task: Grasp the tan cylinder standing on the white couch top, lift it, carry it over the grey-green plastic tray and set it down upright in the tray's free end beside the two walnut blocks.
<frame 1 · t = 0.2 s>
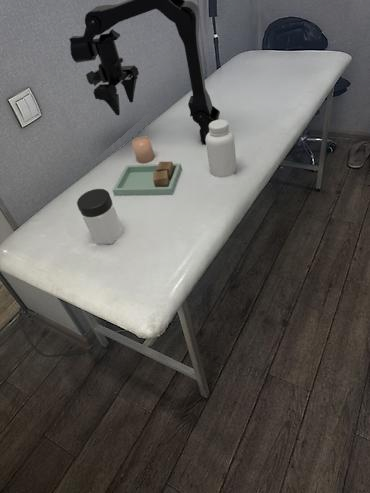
hand: (124, 108, 117), 14 cm above the table, fingers open, 9 cm apart
jar: (108, 234, 95), on the table
tray: (149, 183, 108), on the table
block a: (167, 176, 108), point 1 cm above the table, touching tray
pill bottle: (223, 171, 106), on the table
block b: (163, 186, 105), point 1 cm above the table, touching tray
tan cylinder: (146, 160, 119), on the table
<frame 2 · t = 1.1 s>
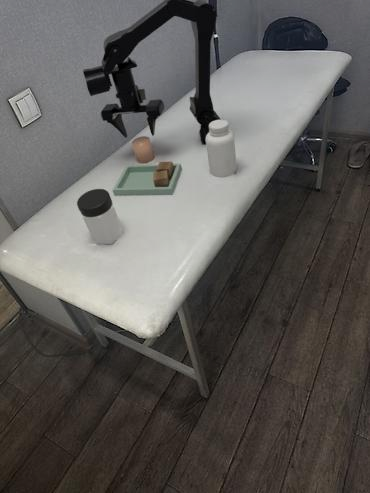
hand: (139, 136, 113), 9 cm above the table, fingers open, 9 cm apart
nothing on the table moved.
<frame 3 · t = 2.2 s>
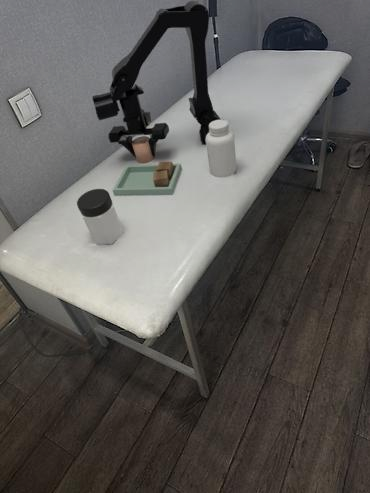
hand: (145, 156, 118), 1 cm above the table, fingers closed on tan cylinder, 6 cm apart
tan cylinder: (146, 160, 119), on the table, touching gripper
everything else where it was.
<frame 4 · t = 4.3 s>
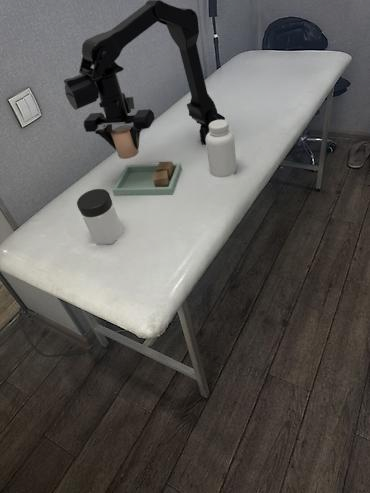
hand: (127, 149, 102), 12 cm above the table, fingers closed on tan cylinder, 6 cm apart
tan cylinder: (128, 153, 103), point 10 cm above the table, touching gripper
everything else where it was.
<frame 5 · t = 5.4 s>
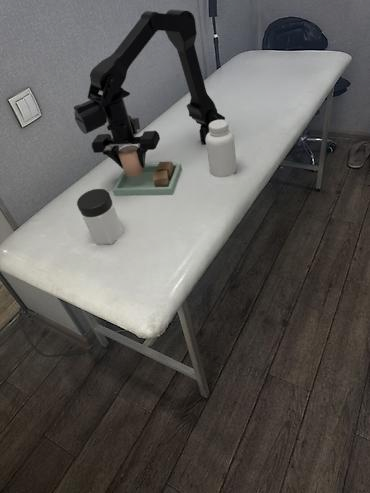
hand: (133, 167, 105), 6 cm above the table, fingers closed on tan cylinder, 6 cm apart
tan cylinder: (134, 171, 106), point 4 cm above the table, touching gripper
everything else where it was.
when the fingers open (3 cm above the table, at t = 6.3 s): tan cylinder drops 1 cm, resting on tray.
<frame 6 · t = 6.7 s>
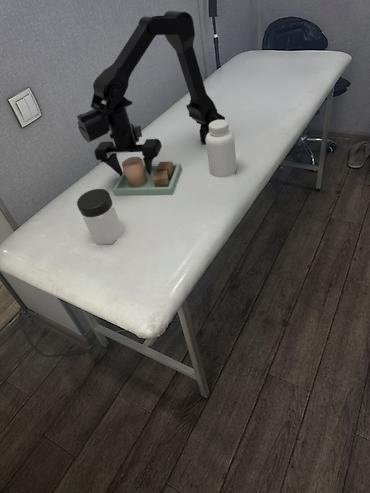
hand: (135, 174, 107), 3 cm above the table, fingers open, 9 cm apart
tan cylinder: (138, 182, 109), point 1 cm above the table, touching tray
everything else where it was.
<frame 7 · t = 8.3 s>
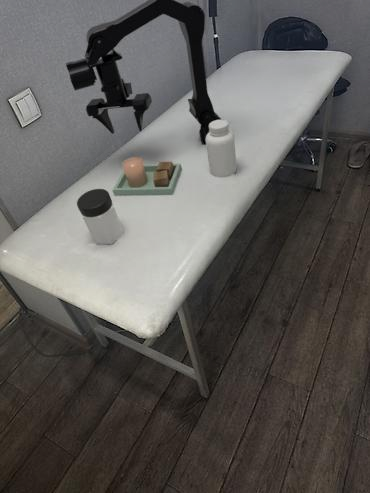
hand: (127, 131, 109), 12 cm above the table, fingers open, 9 cm apart
nothing on the table moved.
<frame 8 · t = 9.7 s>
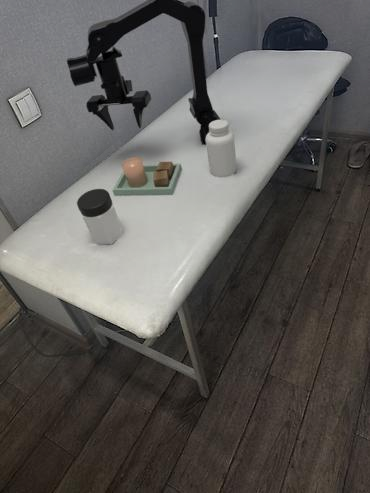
hand: (126, 128, 111), 12 cm above the table, fingers open, 9 cm apart
nothing on the table moved.
at the end: tan cylinder inside the target area on the tray (3.5 cm from its centre), point 0.6 cm above the tray's base; tan cylinder tilted 1°; the gripper is holding nothing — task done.
